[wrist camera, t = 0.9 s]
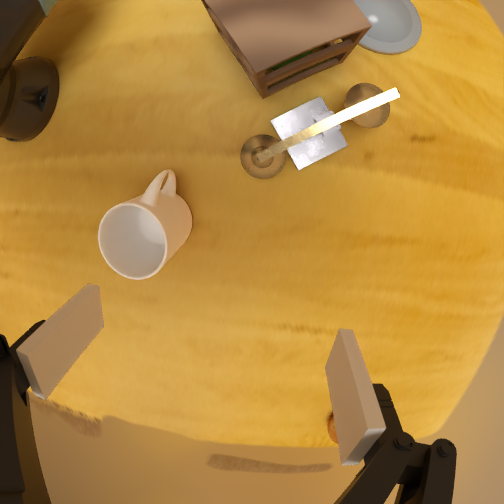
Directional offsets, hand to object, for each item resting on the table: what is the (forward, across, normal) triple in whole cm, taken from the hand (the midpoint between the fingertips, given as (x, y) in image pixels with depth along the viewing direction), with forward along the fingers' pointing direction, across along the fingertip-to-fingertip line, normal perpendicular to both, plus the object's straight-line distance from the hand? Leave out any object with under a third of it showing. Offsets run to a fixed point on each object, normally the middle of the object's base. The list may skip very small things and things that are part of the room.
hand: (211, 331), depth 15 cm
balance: (+26, +6, +12) cm, 29 cm away
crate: (+26, 0, +24) cm, 35 cm away
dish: (+26, +13, +32) cm, 43 cm away
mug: (+26, -11, 0) cm, 28 cm away
